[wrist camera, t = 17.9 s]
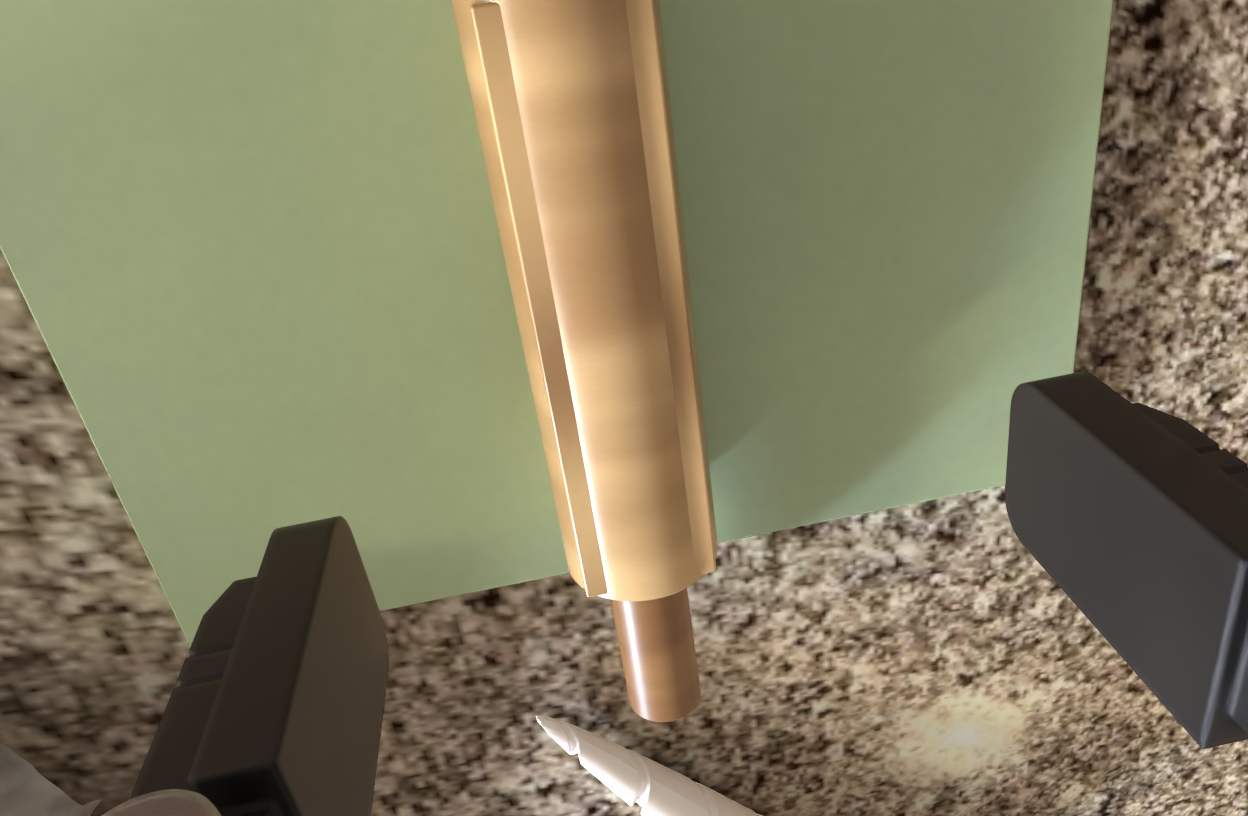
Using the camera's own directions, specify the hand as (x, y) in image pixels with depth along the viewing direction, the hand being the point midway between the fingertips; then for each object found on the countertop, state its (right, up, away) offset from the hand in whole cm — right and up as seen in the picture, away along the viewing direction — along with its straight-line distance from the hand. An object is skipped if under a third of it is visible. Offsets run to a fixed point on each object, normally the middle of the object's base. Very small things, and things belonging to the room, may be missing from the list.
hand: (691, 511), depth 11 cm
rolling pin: (-2, +5, +15) cm, 16 cm away
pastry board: (-2, +5, +16) cm, 17 cm away
